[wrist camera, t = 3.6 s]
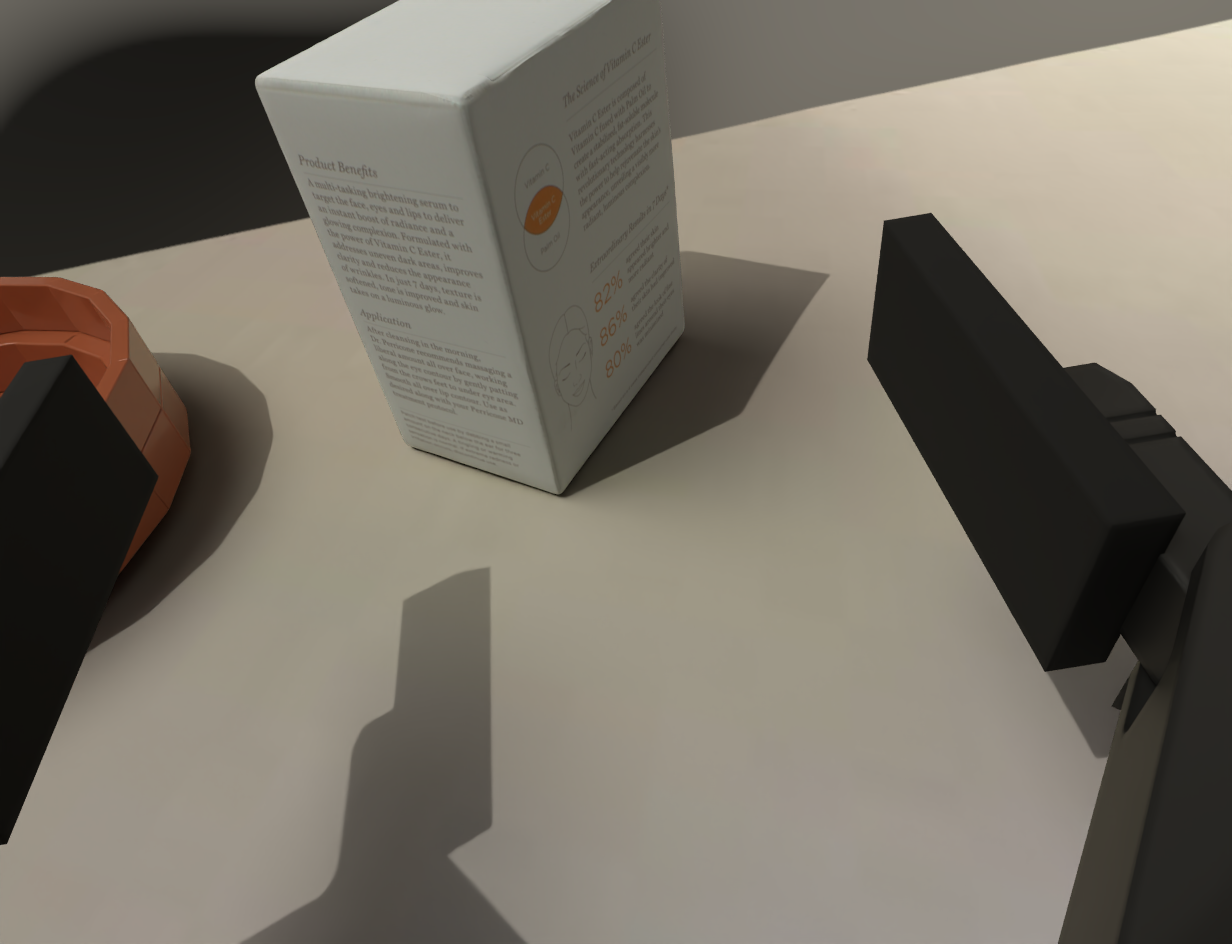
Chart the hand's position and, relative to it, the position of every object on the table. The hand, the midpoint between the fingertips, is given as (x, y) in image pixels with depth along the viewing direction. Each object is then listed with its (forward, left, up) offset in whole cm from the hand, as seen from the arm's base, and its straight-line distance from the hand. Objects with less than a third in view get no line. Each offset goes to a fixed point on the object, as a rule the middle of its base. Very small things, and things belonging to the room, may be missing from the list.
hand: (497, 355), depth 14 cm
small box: (0, -9, -8) cm, 11 cm away
